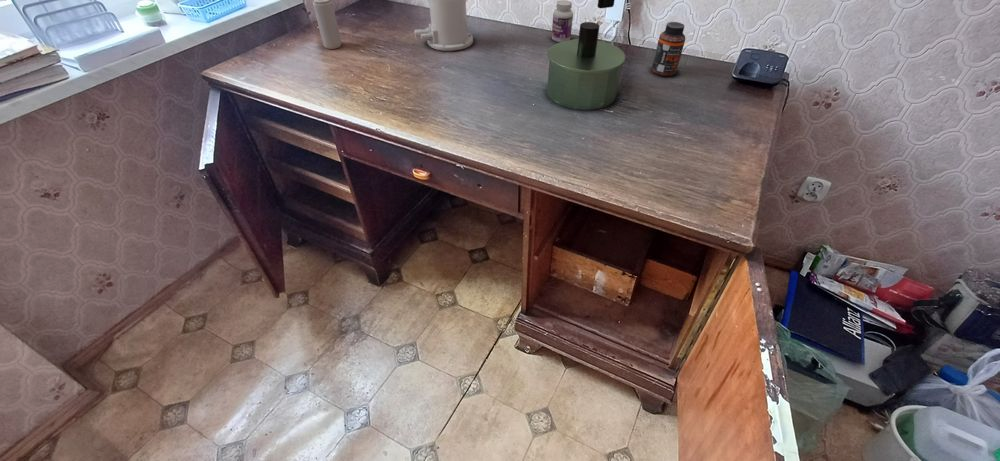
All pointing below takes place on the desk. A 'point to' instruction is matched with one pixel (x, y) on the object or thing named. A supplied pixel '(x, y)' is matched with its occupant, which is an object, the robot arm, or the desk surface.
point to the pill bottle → (562, 21)
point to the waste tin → (582, 88)
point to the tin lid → (586, 52)
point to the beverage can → (327, 23)
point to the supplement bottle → (669, 49)
